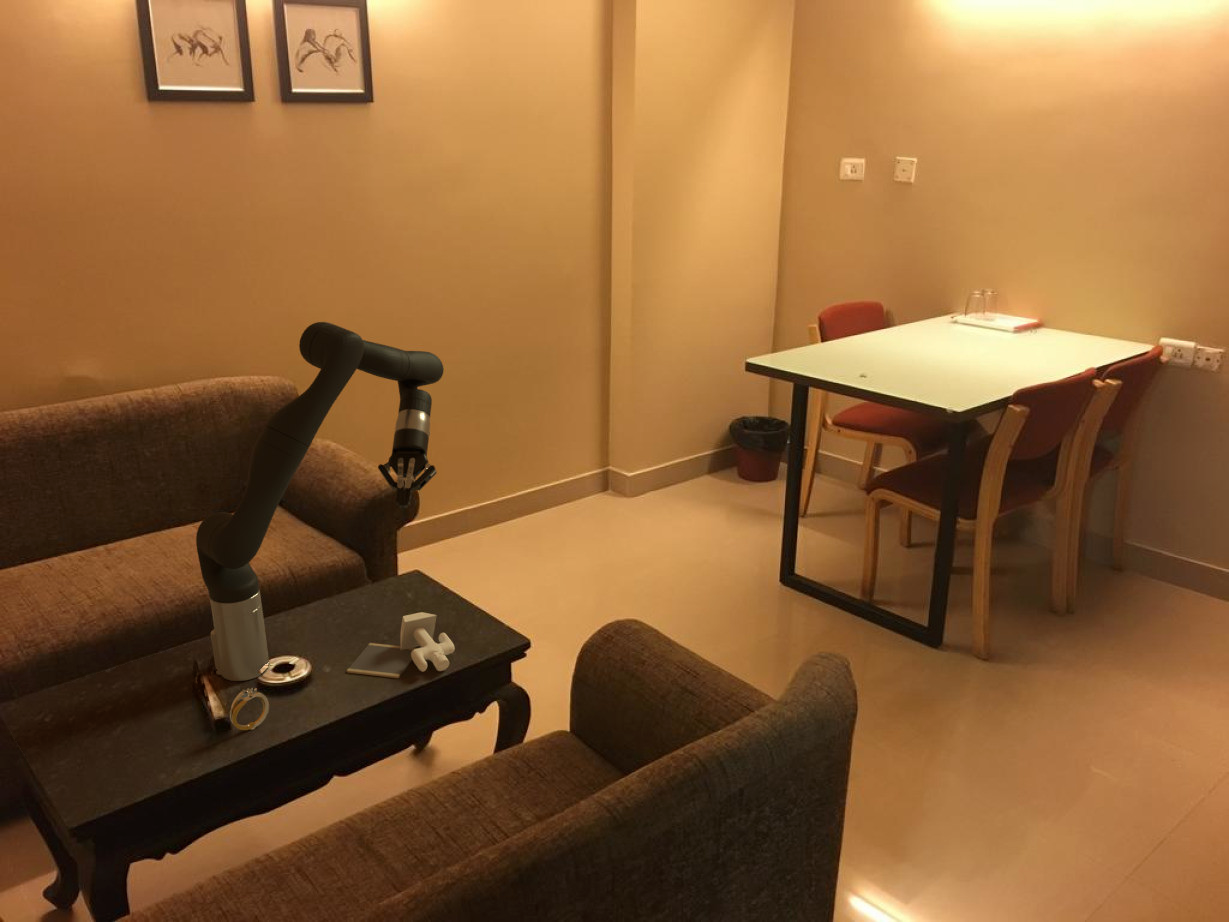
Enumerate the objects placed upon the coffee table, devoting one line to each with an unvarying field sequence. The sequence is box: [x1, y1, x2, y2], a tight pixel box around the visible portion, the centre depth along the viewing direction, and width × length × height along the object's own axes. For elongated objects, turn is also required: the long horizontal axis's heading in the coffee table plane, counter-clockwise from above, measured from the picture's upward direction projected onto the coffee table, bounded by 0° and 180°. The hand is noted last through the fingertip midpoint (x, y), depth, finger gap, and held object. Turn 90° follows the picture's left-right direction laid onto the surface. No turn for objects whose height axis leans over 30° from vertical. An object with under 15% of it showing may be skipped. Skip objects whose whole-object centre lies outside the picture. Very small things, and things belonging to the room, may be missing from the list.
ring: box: [229, 687, 270, 731], centre depth 177 cm, size 7×3×8 cm, turn 132°
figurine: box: [399, 611, 456, 673], centre depth 201 cm, size 7×9×15 cm
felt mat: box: [346, 642, 419, 679], centre depth 200 cm, size 11×11×1 cm
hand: (402, 506), depth 208 cm, fingers closed
